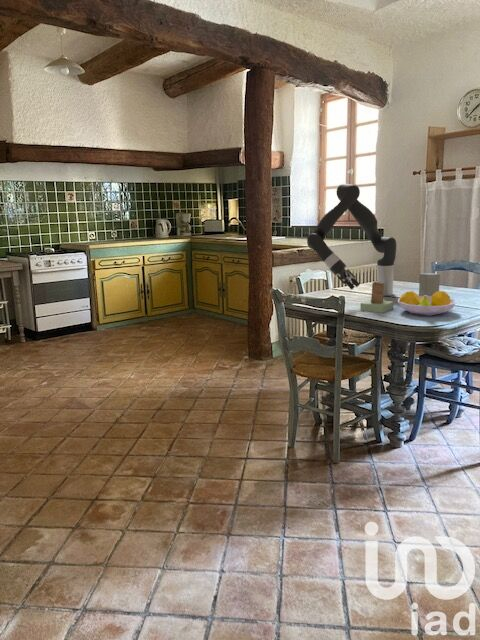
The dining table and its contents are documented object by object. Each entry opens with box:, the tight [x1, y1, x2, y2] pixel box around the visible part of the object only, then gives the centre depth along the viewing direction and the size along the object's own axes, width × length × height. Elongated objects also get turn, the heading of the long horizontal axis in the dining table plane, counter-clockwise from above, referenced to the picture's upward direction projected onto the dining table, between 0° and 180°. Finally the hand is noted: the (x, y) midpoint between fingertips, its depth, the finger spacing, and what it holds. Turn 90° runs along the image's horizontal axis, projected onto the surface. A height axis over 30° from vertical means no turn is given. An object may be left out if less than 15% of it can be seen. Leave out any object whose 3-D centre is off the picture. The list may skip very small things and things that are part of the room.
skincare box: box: [418, 272, 441, 296], centre depth 269 cm, size 8×7×16 cm
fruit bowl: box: [397, 290, 456, 317], centre depth 247 cm, size 28×27×11 cm
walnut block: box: [370, 281, 385, 304], centre depth 258 cm, size 5×5×10 cm
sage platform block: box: [360, 299, 394, 313], centre depth 260 cm, size 12×12×4 cm
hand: (355, 287), depth 263 cm, fingers open, 8 cm apart
